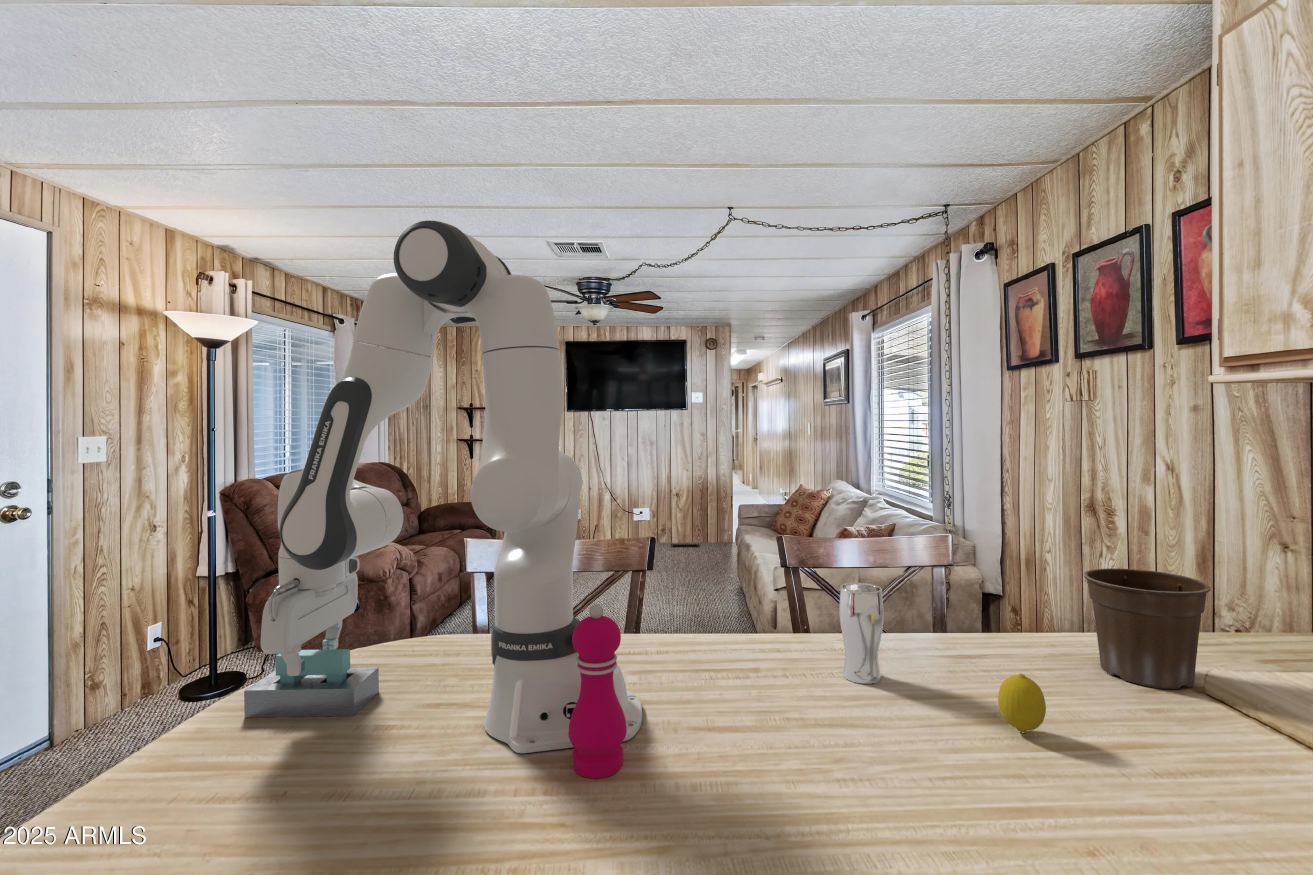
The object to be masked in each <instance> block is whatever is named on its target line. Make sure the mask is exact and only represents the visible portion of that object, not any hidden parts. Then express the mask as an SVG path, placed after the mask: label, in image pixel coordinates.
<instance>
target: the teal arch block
mask: <svg viewBox="0 0 1313 875" xmlns="http://www.w3.org/2000/svg"><path fill="white" fill-rule="evenodd" d="M299 655H300V658H301V660H305V666H304V667H305V670H304V671H303V672H302V673H301V674H299V675H298V676H289V675H288V674H287V664H286V663H285V661H284V659H283V658H282V656H281V654H275V670H276V676H280V684H286V683H297V682H299V681H300V680H301V675H327V683H343V682H344V681H345V680H347V674H346V671H348V670H349V669H350V668H351V649H350V648H348V649H347V648H343V649H341V648H340V649H339V648H336V649H329V650H323V649H301V651H300V652H299Z"/></svg>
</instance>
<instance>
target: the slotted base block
mask: <svg viewBox="0 0 1313 875" xmlns="http://www.w3.org/2000/svg"><path fill="white" fill-rule="evenodd" d="M346 674H347V680H345V681H344V682H343V683H327V675H301V680H300V681H299V682H297V683H286V684H280V676H277V677H275V676H276V669H275V670H274V671H272V672H270V673H269V674H268V675H266V676H265V677H263V678H261V679H260V680H258V681H256V682H255V683H253V684H251V686H249V687H247V688H246V689H244V690H245V691H243V695H244V696H243V702H244V703H243V704H244V706H243V707H244V714H243V715H244V719H246V718H247V719H248V718H300V717H304V718H305V717H306V718H307V717H311V718H312V717H355V716H356V715H357V714H358V713H359V712H360V711H361V710H362V709H363V708H364V707H365V706H366V705H367V704H369V702H370V701H371V700H372V699H374V697H375V696H376V695H378V694H379V692H380V689H379V688H380V685H379V684H380V681H379V666H377V667H376V666H373V667H371V666H370V667H365V666H364V667H350V669H349V670H348V671H346ZM256 684H257V685H256Z"/></svg>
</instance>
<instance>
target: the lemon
mask: <svg viewBox="0 0 1313 875" xmlns="http://www.w3.org/2000/svg"><path fill="white" fill-rule="evenodd" d="M997 703H998V708H999V712H1000V714H1001V716H1002V718H1003V719H1004V720H1005V721H1006V723H1008V725H1010V726H1012V727H1013V728H1015V729H1016V730H1017V731H1018V732H1019V731H1020V732H1025V733H1027V732H1028V731H1033V730H1035V729H1038V728H1039V727H1040V726H1042V724H1043V722H1044V719H1045V717H1046V714H1047V713H1046V711H1047V707H1046V699H1045V696H1044V693H1043V691H1042V689H1041V687H1040V686H1039V685H1038V683H1036V682H1035V681H1034V680H1033V679H1031V678H1029V677H1027V676H1026V675H1025V674H1024V673H1018V674H1015V675H1010V676H1009V677H1007V678H1005V679H1004V680H1003V681H1002V682H1001V684H1000V686H999V690H998V696H997ZM1020 732H1019V733H1020Z"/></svg>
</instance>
